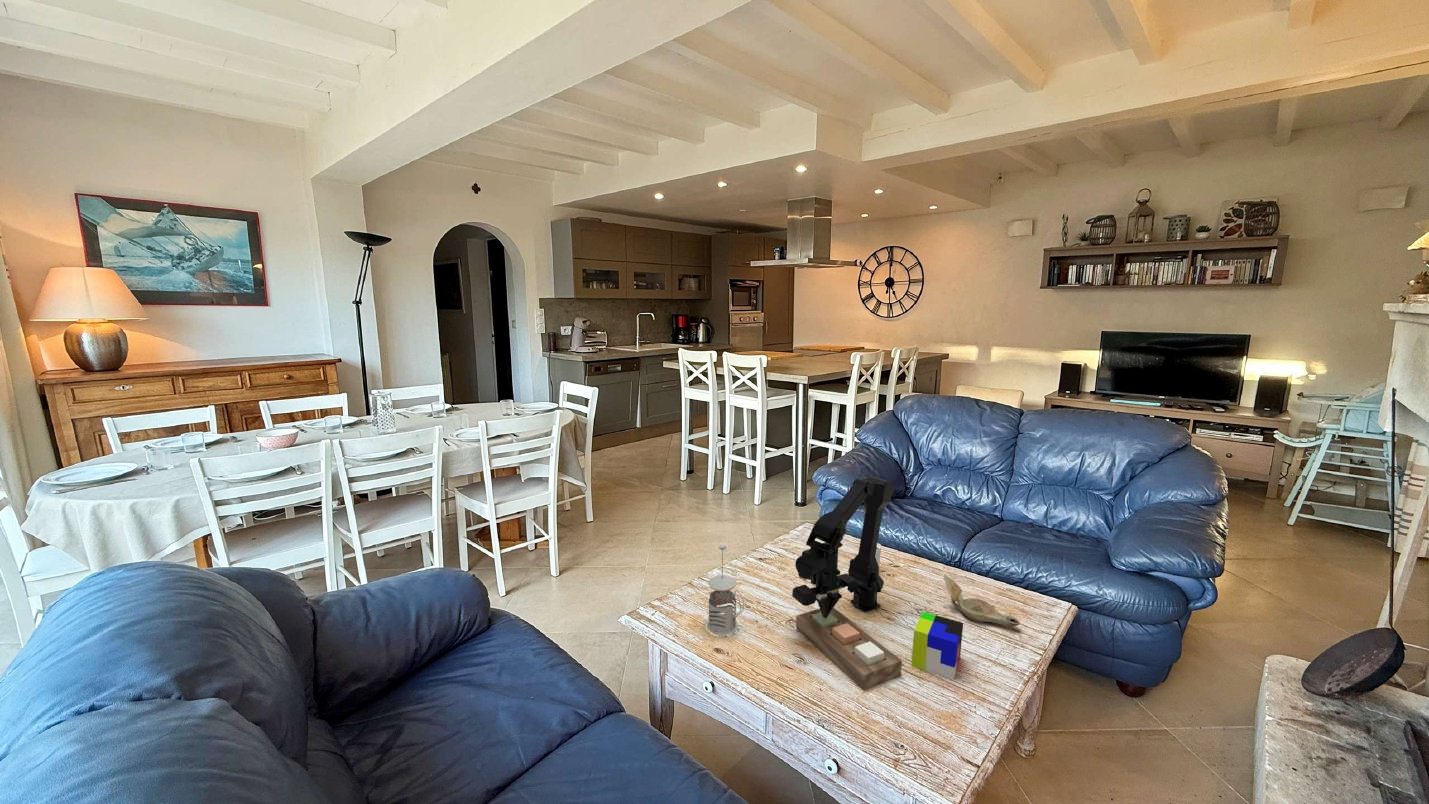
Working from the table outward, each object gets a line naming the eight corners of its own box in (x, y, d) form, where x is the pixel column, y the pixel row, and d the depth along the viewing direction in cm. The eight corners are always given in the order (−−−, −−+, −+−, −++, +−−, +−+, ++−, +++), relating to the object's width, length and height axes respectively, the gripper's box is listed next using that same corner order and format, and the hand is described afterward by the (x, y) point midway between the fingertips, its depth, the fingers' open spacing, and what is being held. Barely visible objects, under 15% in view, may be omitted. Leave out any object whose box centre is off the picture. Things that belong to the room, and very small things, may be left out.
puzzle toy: (953, 679, 136) (956, 643, 134) (911, 665, 141) (914, 630, 139) (960, 657, 144) (963, 622, 142) (920, 645, 149) (922, 611, 147)
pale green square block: (826, 620, 158) (826, 610, 157) (837, 629, 153) (837, 619, 153) (811, 624, 156) (812, 614, 155) (822, 634, 151) (822, 624, 151)
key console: (830, 617, 162) (830, 605, 161) (900, 675, 137) (901, 660, 136) (796, 628, 157) (796, 615, 156) (863, 690, 132) (863, 675, 131)
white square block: (869, 651, 142) (870, 641, 141) (883, 663, 137) (884, 652, 137) (854, 657, 140) (854, 646, 139) (867, 669, 135) (868, 658, 135)
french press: (718, 613, 164) (718, 534, 160) (751, 626, 157) (752, 544, 153) (698, 629, 156) (697, 546, 152) (732, 644, 150) (733, 557, 145)
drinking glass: (880, 578, 185) (882, 550, 183) (860, 576, 186) (861, 548, 184) (878, 569, 191) (880, 541, 189) (858, 567, 192) (860, 540, 191)
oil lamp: (946, 599, 172) (949, 569, 170) (1022, 626, 158) (1026, 593, 156) (936, 610, 166) (938, 579, 164) (1014, 639, 152) (1017, 606, 150)
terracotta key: (846, 633, 150) (847, 623, 149) (859, 643, 145) (859, 632, 145) (831, 638, 148) (832, 627, 147) (844, 648, 143) (844, 638, 143)
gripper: (835, 546, 162) (833, 595, 165) (781, 559, 154) (780, 610, 157) (861, 562, 153) (858, 614, 155) (805, 577, 144) (803, 631, 147)
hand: (824, 617), depth 154 cm, fingers closed, pressing on pale green square block
